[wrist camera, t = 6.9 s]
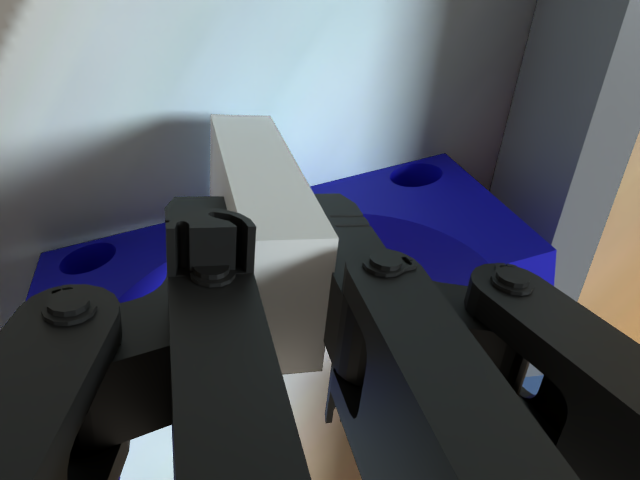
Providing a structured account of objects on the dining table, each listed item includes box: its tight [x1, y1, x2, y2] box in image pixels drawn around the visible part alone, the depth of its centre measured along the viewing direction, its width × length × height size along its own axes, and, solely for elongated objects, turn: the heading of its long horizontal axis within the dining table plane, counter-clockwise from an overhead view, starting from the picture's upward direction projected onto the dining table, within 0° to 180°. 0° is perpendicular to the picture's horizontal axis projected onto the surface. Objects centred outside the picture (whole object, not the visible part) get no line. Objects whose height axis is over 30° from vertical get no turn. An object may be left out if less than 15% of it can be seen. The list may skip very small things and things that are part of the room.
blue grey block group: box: [489, 0, 640, 395], centre depth 16 cm, size 23×19×5 cm
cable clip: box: [26, 153, 557, 480], centre depth 16 cm, size 12×4×6 cm, turn 99°
